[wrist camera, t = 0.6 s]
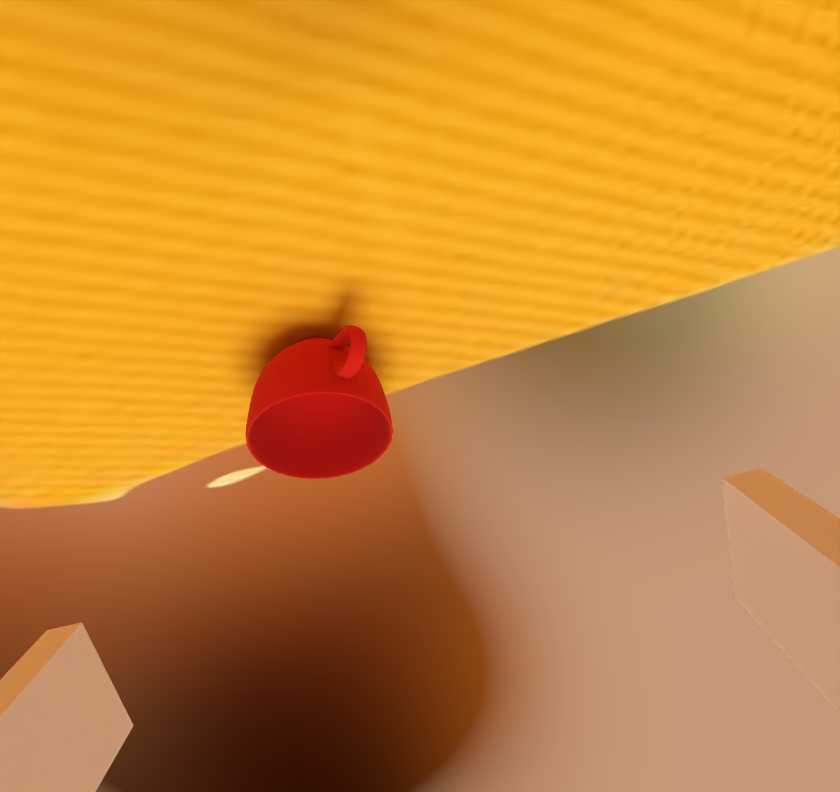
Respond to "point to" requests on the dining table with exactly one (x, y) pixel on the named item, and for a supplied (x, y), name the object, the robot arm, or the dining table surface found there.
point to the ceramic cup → (319, 409)
